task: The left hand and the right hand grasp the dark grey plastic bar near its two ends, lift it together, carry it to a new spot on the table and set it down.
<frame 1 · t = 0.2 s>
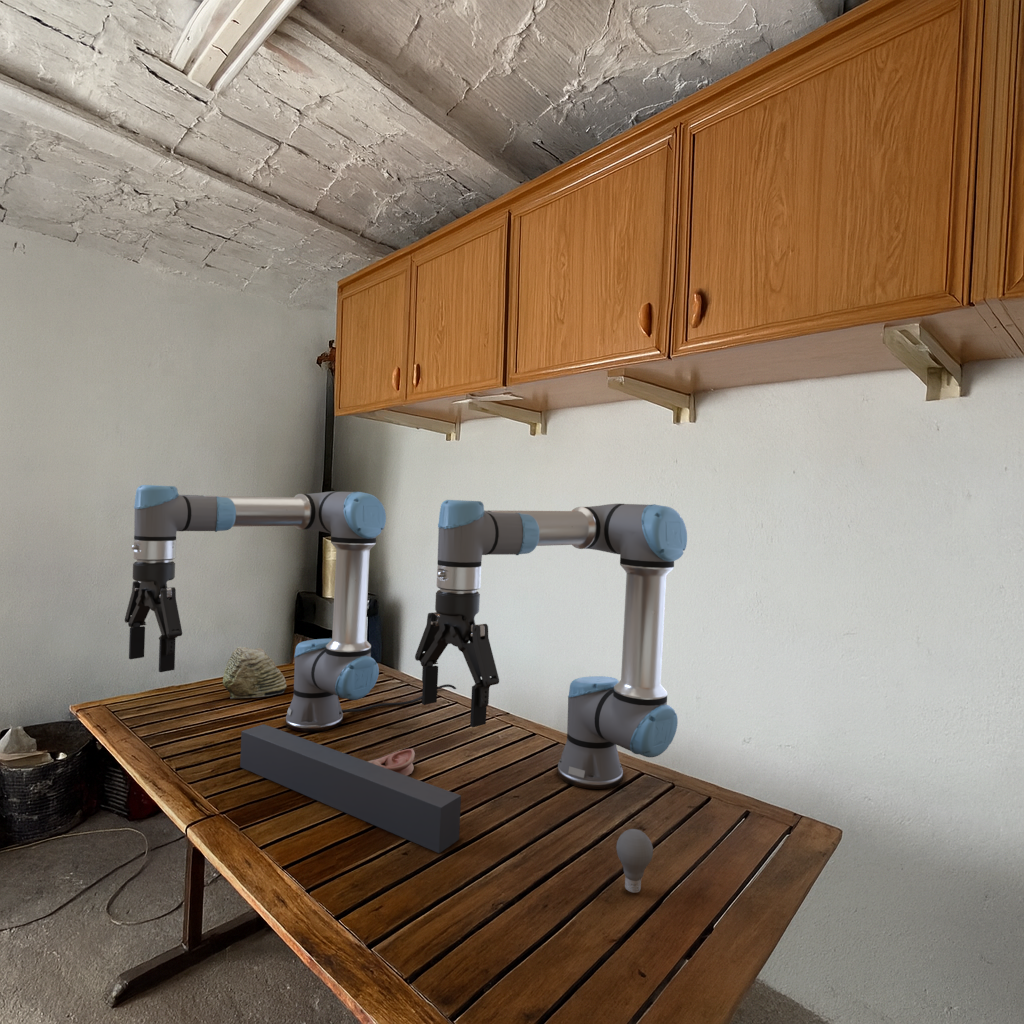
left hand: (151, 664, 130), 28 cm above the table, tool pointing down, fingers open, 13 cm apart
right hand: (452, 713, 108), 27 cm above the table, tool pointing down, fingers open, 13 cm apart
bar: (338, 799, 133), on the table
anatomical model: (383, 771, 147), on the table
light bulb: (632, 891, 106), on the table
fossil: (254, 694, 198), on the table
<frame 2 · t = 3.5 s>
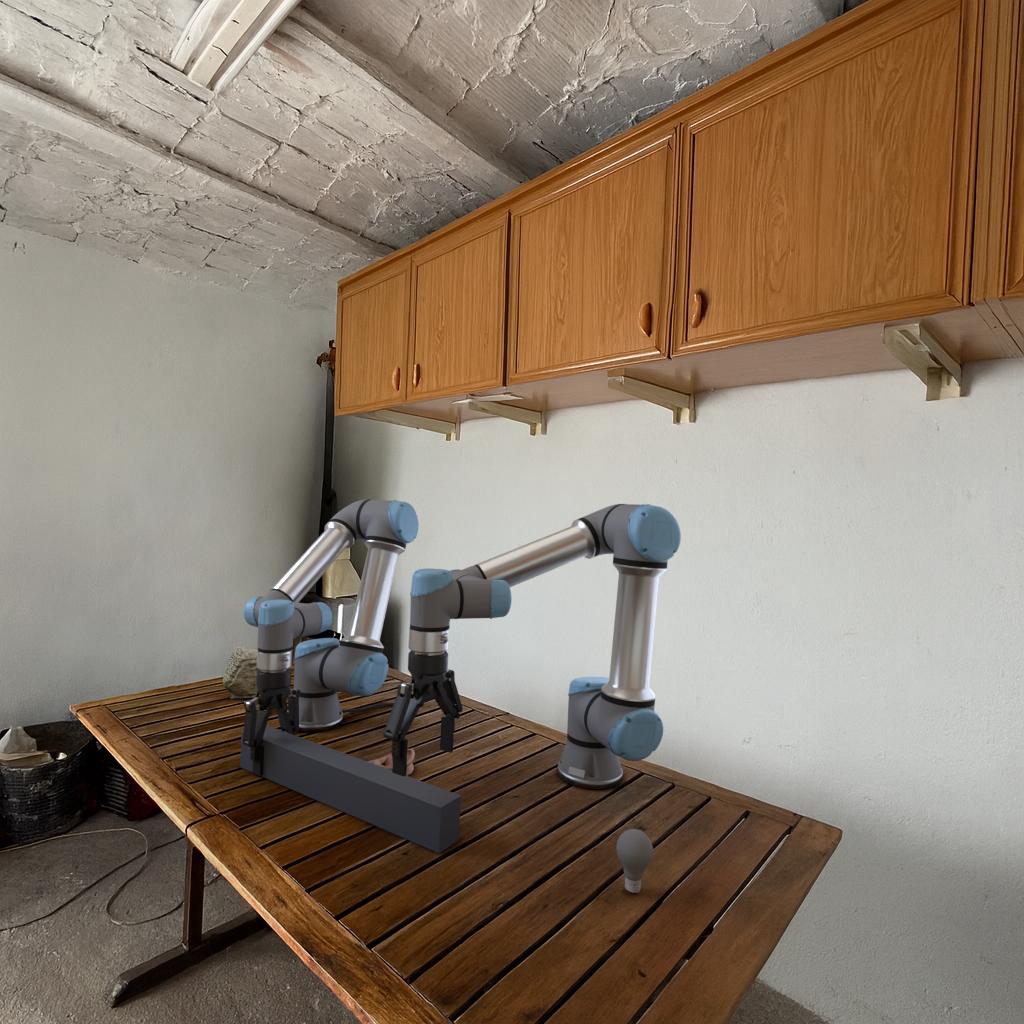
left hand: (270, 768, 145), 1 cm above the table, tool pointing down, fingers closed on bar, 6 cm apart
right hand: (423, 762, 120), 14 cm above the table, tool pointing down, fingers open, 13 cm apart
bar: (338, 799, 133), on the table, touching left hand
everything else where it was.
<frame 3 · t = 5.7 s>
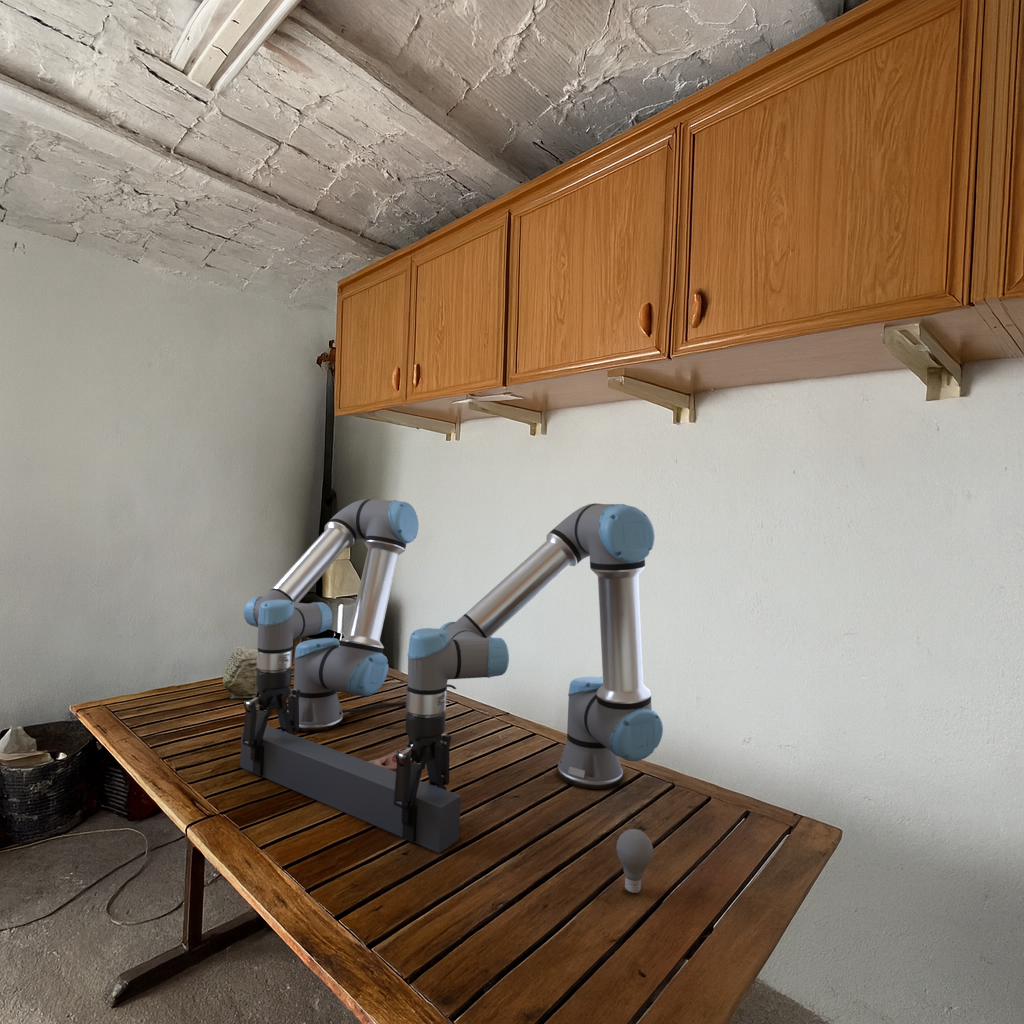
left hand: (270, 768, 145), 1 cm above the table, tool pointing down, fingers closed on bar, 6 cm apart
right hand: (420, 831, 121), 0 cm above the table, tool pointing down, fingers closed on bar, 6 cm apart
bar: (338, 799, 133), on the table, touching left hand, right hand
everything else where it was.
when the left hand's fingers open (1 cm above the table, at t = 9.8 s): bar stays where it is, on the table.
when the right hand's fingers open (1 cm above the table, at t = 9.8 s): bar stays where it is, on the table.
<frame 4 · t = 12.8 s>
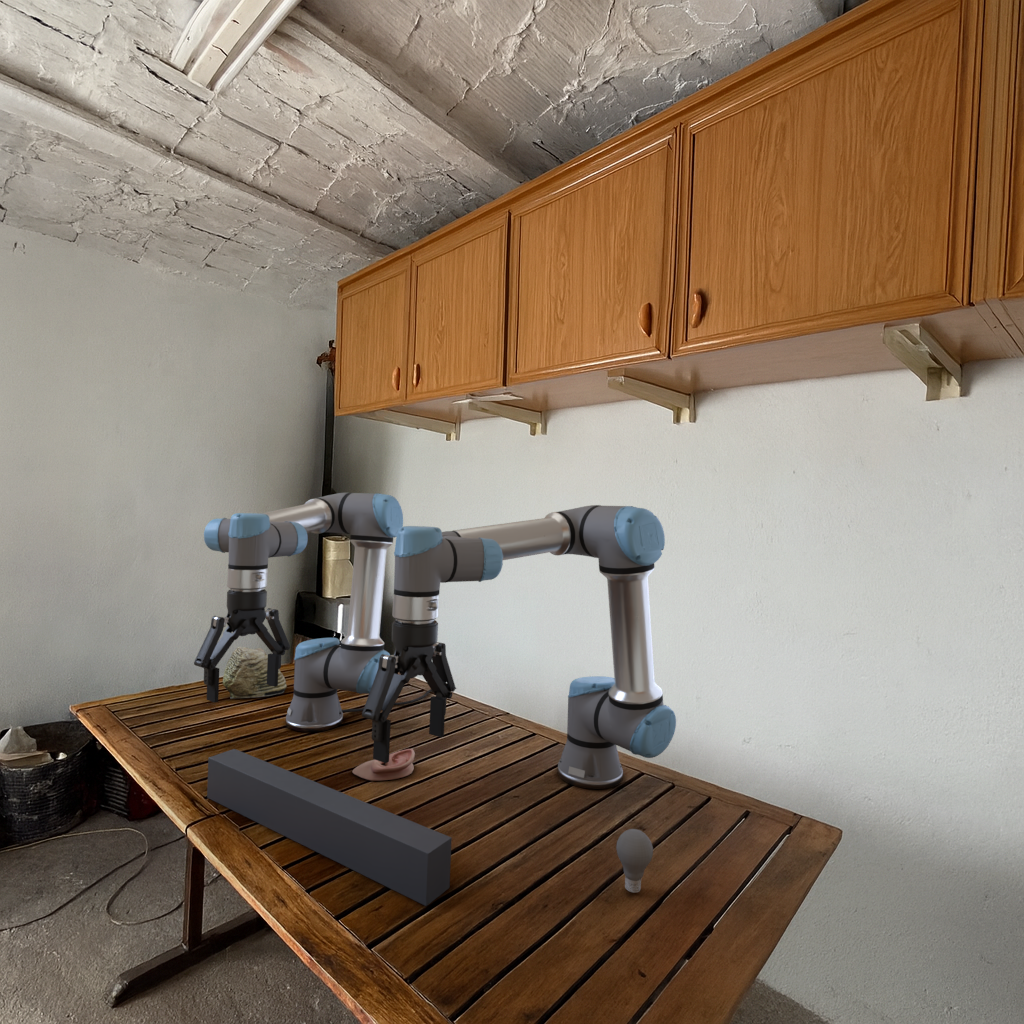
left hand: (243, 692, 129), 23 cm above the table, tool pointing down, fingers open, 13 cm apart
right hand: (410, 747, 105), 23 cm above the table, tool pointing down, fingers open, 13 cm apart
bar: (314, 837, 118), on the table
everything else where it was.
at the end: bar inside the target area (0.3 cm from its centre), on the table; bar tilted 0°; bar never tilted more than 2° during the clip; both hands held the bar at the same time; the left hand is holding nothing; the right hand is holding nothing; bar at rest at the end (0.0 cm/s) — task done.
